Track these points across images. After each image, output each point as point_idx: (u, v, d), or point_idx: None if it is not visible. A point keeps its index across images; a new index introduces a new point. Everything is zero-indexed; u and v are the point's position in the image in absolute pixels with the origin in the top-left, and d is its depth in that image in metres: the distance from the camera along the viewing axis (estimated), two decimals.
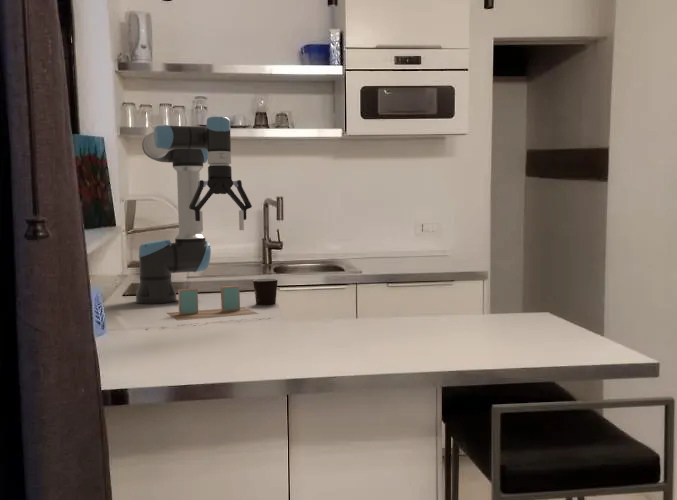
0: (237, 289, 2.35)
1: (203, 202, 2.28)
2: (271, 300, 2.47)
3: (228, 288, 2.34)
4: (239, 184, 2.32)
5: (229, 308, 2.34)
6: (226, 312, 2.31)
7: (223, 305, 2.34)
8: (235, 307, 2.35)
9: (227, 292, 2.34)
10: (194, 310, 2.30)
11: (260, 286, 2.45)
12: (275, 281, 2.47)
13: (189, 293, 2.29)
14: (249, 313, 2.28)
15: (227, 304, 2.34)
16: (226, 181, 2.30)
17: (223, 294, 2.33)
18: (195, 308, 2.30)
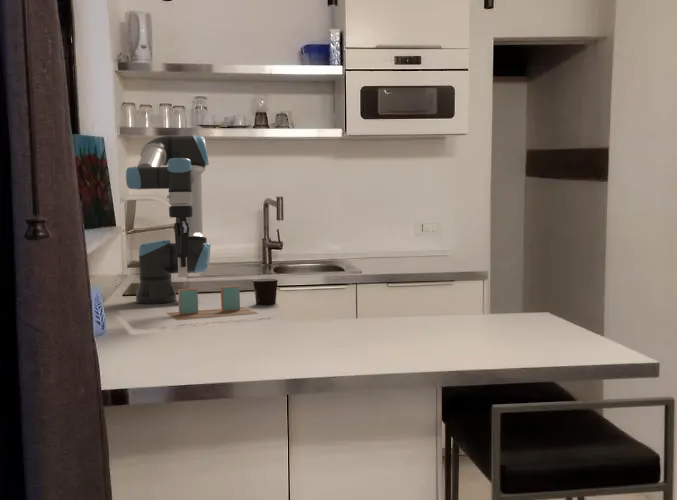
0: (237, 289, 2.35)
1: (177, 246, 2.35)
2: (271, 300, 2.47)
3: (228, 288, 2.34)
4: (181, 230, 2.29)
5: (229, 308, 2.34)
6: (226, 312, 2.31)
7: (223, 305, 2.34)
8: (235, 307, 2.35)
9: (227, 292, 2.34)
10: (194, 310, 2.30)
11: (260, 286, 2.45)
12: (275, 281, 2.47)
13: (189, 293, 2.29)
14: (249, 313, 2.28)
15: (227, 304, 2.34)
16: (179, 219, 2.31)
17: (223, 294, 2.33)
18: (195, 308, 2.30)
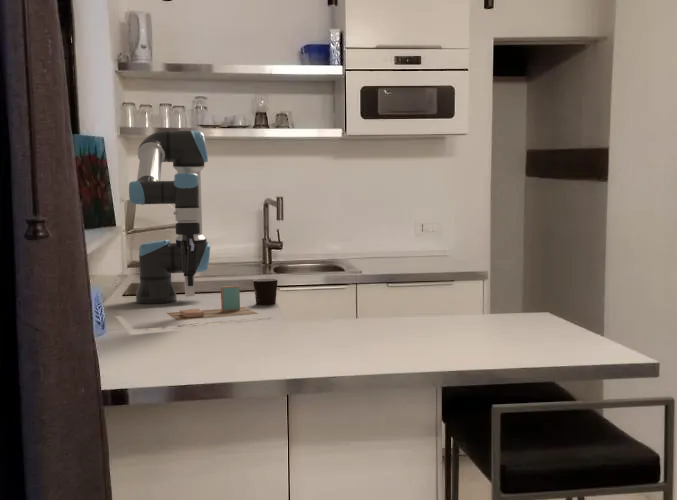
0: (237, 289, 2.35)
1: (184, 264, 2.27)
2: (271, 300, 2.47)
3: (228, 288, 2.34)
4: (188, 248, 2.21)
5: (229, 308, 2.34)
6: (226, 312, 2.31)
7: (223, 305, 2.34)
8: (235, 307, 2.35)
9: (227, 292, 2.34)
10: None
11: (260, 286, 2.45)
12: (275, 281, 2.47)
13: (194, 316, 2.23)
14: (249, 313, 2.28)
15: (227, 304, 2.34)
16: (186, 236, 2.23)
17: (223, 294, 2.33)
18: None
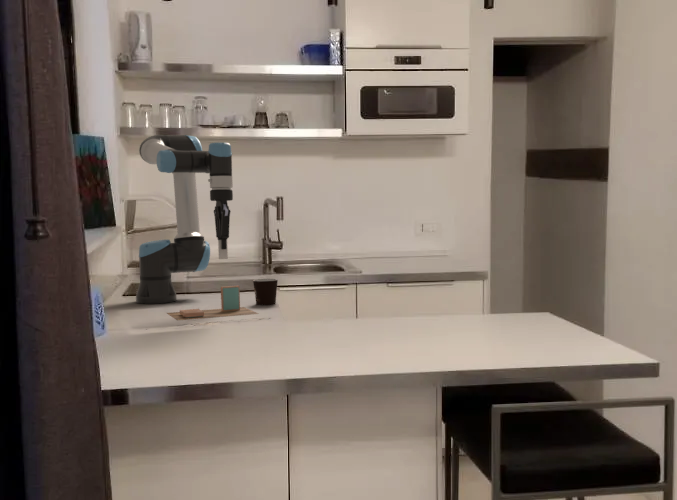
0: (237, 289, 2.35)
1: (217, 229, 2.41)
2: (271, 300, 2.47)
3: (228, 288, 2.34)
4: (222, 213, 2.34)
5: (229, 308, 2.34)
6: (226, 312, 2.31)
7: (223, 305, 2.34)
8: (235, 307, 2.35)
9: (227, 292, 2.34)
10: None
11: (260, 286, 2.45)
12: (275, 281, 2.47)
13: (194, 316, 2.23)
14: (249, 313, 2.28)
15: (227, 304, 2.34)
16: (220, 202, 2.37)
17: (223, 294, 2.33)
18: None
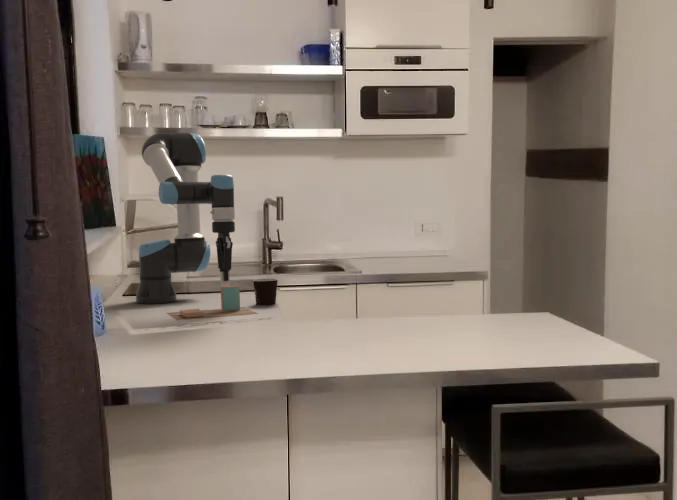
0: (237, 289, 2.35)
1: (220, 261, 2.41)
2: (271, 300, 2.47)
3: (228, 288, 2.34)
4: (224, 245, 2.35)
5: (229, 308, 2.34)
6: (226, 312, 2.31)
7: (223, 305, 2.34)
8: (235, 307, 2.35)
9: (227, 292, 2.34)
10: None
11: (260, 286, 2.45)
12: (275, 281, 2.47)
13: (194, 316, 2.23)
14: (249, 313, 2.28)
15: (227, 304, 2.34)
16: (222, 234, 2.37)
17: (223, 294, 2.33)
18: None
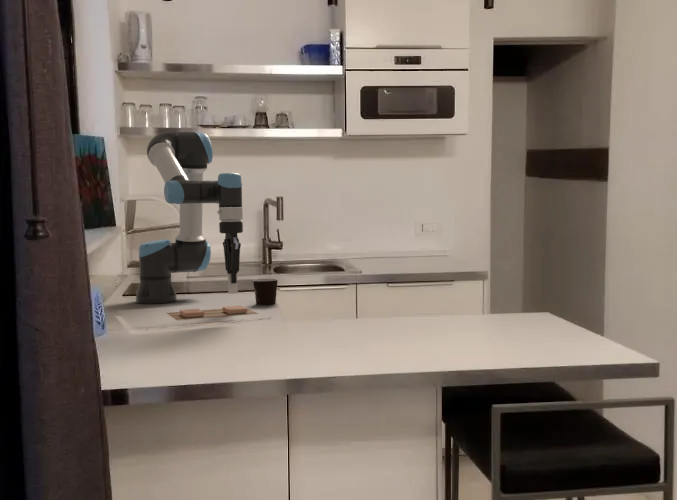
0: (243, 312, 2.29)
1: (227, 262, 2.32)
2: (271, 300, 2.47)
3: (235, 313, 2.28)
4: (232, 246, 2.26)
5: None
6: None
7: (225, 311, 2.32)
8: None
9: None
10: None
11: (260, 286, 2.45)
12: (275, 281, 2.47)
13: (194, 316, 2.23)
14: (249, 313, 2.28)
15: None
16: (230, 235, 2.28)
17: (228, 313, 2.29)
18: None
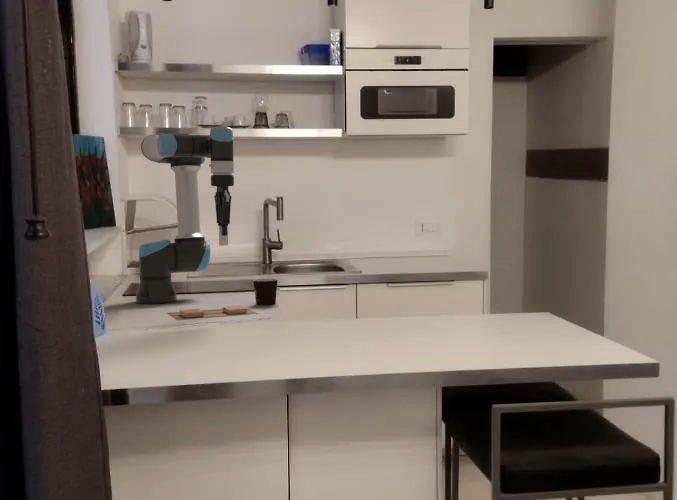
0: (243, 312, 2.29)
1: (218, 215, 2.37)
2: (271, 300, 2.47)
3: (235, 313, 2.28)
4: (223, 199, 2.31)
5: None
6: None
7: (225, 311, 2.32)
8: None
9: None
10: None
11: (260, 286, 2.45)
12: (275, 281, 2.47)
13: (194, 316, 2.23)
14: (249, 313, 2.28)
15: None
16: (221, 188, 2.33)
17: (228, 313, 2.29)
18: None
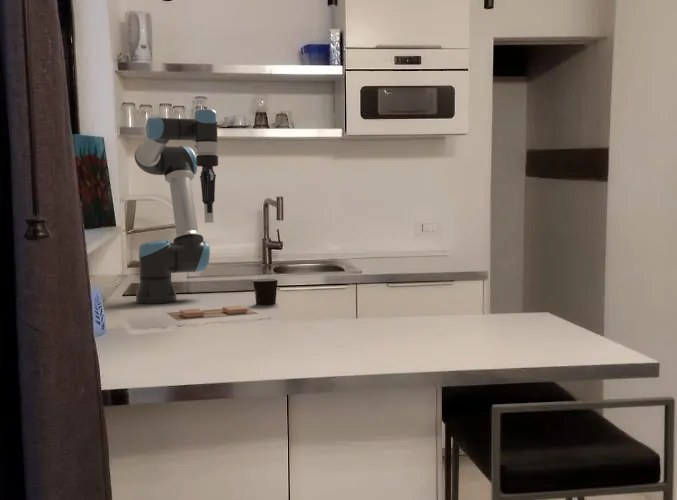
0: (243, 312, 2.29)
1: (203, 194, 2.49)
2: (271, 300, 2.47)
3: (235, 313, 2.28)
4: (207, 177, 2.43)
5: None
6: None
7: (225, 311, 2.32)
8: None
9: None
10: None
11: (260, 286, 2.45)
12: (275, 281, 2.47)
13: (194, 316, 2.23)
14: (249, 313, 2.28)
15: None
16: (206, 167, 2.45)
17: (228, 313, 2.29)
18: None
